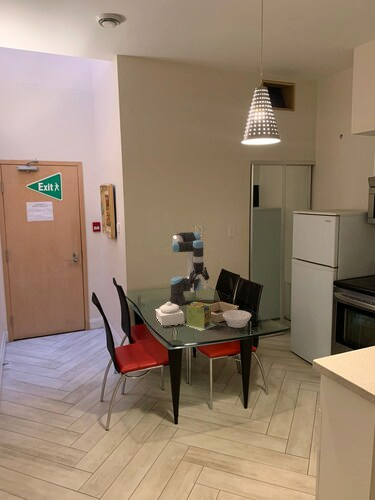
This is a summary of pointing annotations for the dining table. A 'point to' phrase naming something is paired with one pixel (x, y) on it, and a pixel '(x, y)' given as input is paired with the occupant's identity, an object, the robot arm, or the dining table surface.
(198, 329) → the mat
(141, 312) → the dining table surface
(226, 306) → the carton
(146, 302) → the dining table surface
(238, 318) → the bowl
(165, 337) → the dining table surface
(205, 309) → the protein box
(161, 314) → the butter dish
